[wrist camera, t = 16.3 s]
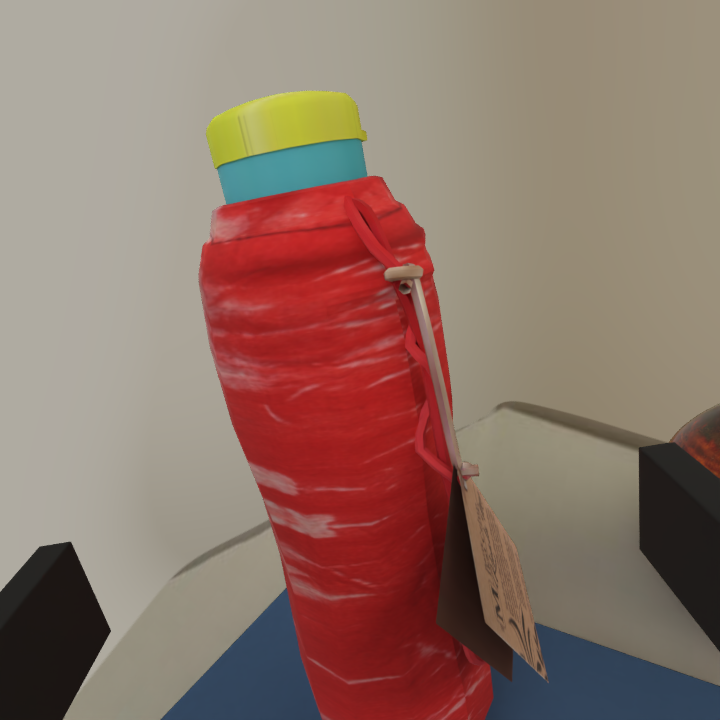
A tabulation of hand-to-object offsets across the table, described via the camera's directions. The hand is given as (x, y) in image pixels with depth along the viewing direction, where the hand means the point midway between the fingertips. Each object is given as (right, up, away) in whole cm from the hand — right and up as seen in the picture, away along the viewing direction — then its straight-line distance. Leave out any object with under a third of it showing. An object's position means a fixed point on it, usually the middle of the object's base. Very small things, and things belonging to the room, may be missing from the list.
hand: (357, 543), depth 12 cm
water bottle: (+3, -12, +10) cm, 16 cm away
